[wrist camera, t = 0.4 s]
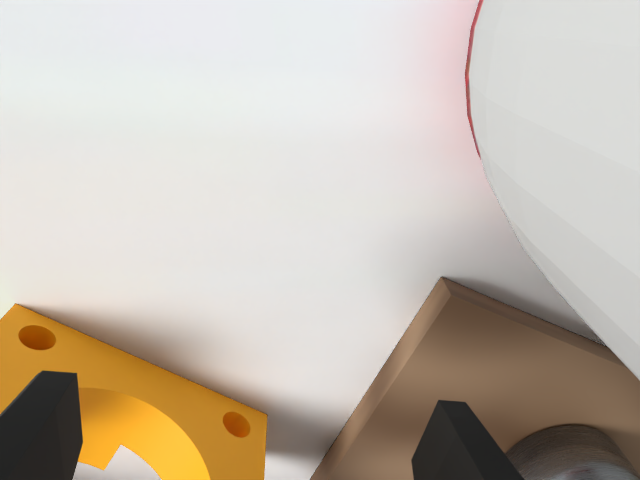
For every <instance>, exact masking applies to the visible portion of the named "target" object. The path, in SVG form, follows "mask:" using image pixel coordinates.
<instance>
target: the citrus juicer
mask: <svg viewBox="0 0 640 480" xmlns="http://www.w3.org/2000/svg"><path fill="white" fill-rule="evenodd" d="M465 82H466V99H467V116H468V119H469V123H470V127H471V131H472V134H473V138H474V142H475V146H476V149H477V153H478V155H479V157H480V158H481V160H482V164H483V168H484V171H485V175H486V178H487V180H488V182H489V184H490V186H491V188H492V190H493V192H494V194H495V196H496V198H497V200H498V202H499V204H500V206H501V208H502V210H503V212H504V214H505V215H506V217H507V219H508V221H509V223H510V225H511V227H512V229H513V231H514V233H515V235H516V236H517V238H518V240H519V242H520V244H521V246H522V248H523V249H524V250H525V252H526V253H527V254H528V256H529V257H530V258H531V259H532V261H533V262H534V263H535V264H536V266H537V267H538V268H539V269H540V271H541V272H542V273H543V274H544V276H545V277H546V278H547V279H548V281H549V282H550V283H551V285H552V286H553V287H554V288H555V289H556V290H557V292H558V293H559V294H560V295H561V296H562V297H563V298H564V299H565V300H566V302H567V303H568V304H569V305H570V306H571V307H572V308H573V309H574V311H575V312H576V313H577V314H578V315H579V316H580V317H581V318H582V319H583V321H584V322H585V323H586V324H587V325H588V326H589V327H590V328H591V329H592V330H593V331H594V332H595V333H596V335H597V336H598V337H599V338H600V339H601V340H602V341H603V342H604V343H605V344H606V345H607V346H608V347H609V348H610V349H611V351H612V352H613V353H614V354H615V355H616V356H617V357H618V358H619V359H620V360H621V361H622V362H623V363H624V364H625V365H626V366H627V368H628V369H629V370H630V371H631V372H632V373H633V374H634V375H635V376H636V377H637V378H638V379H639V380H640V0H479V4H478V7H477V10H476V13H475V17H474V20H473V23H472V26H471V31H470V39H469V47H468V55H467V62H466V70H465Z"/></svg>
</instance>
